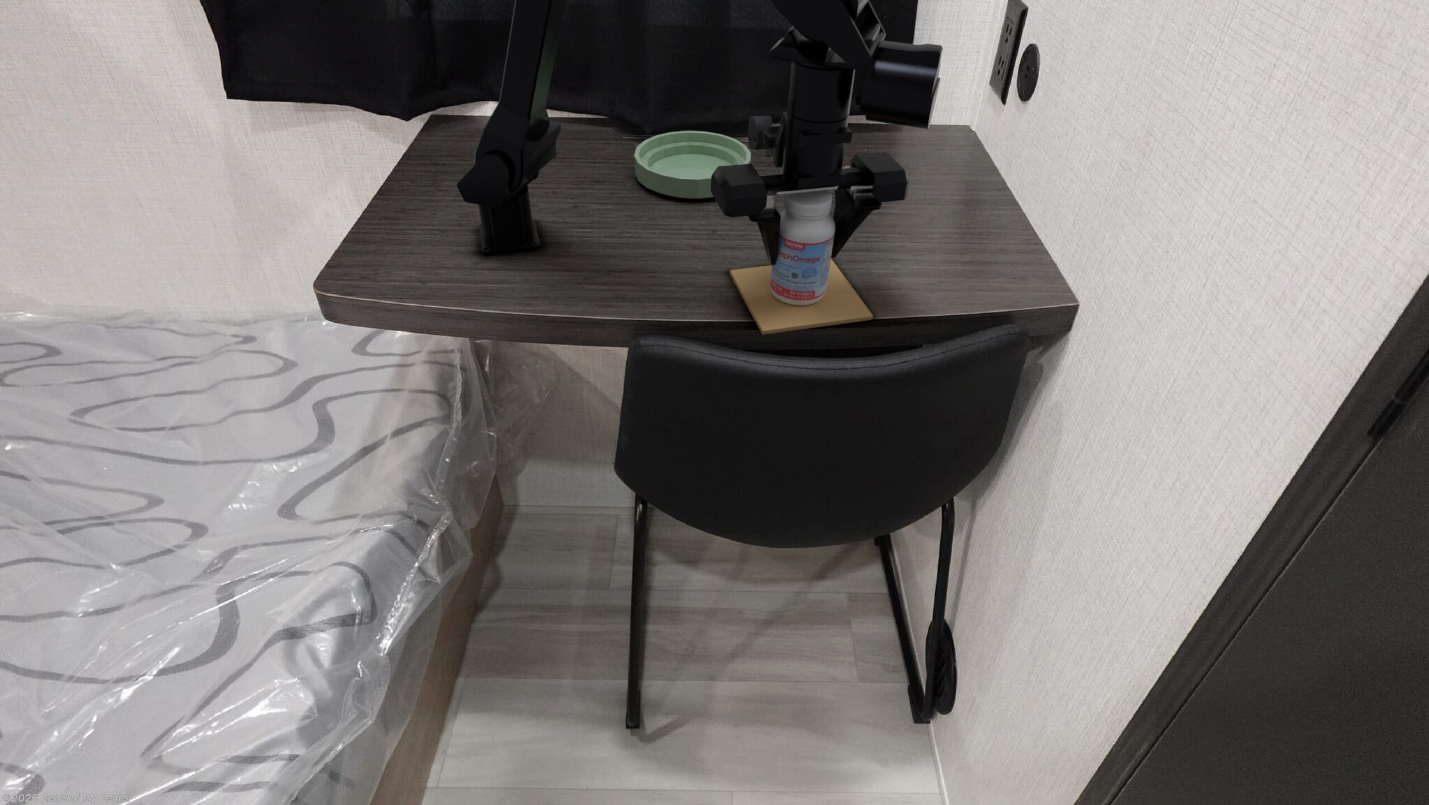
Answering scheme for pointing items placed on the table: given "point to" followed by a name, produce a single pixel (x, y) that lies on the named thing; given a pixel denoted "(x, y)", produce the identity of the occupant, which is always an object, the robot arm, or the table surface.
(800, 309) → the cork mat
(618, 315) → the table surface
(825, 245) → the pill bottle
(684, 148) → the dish
